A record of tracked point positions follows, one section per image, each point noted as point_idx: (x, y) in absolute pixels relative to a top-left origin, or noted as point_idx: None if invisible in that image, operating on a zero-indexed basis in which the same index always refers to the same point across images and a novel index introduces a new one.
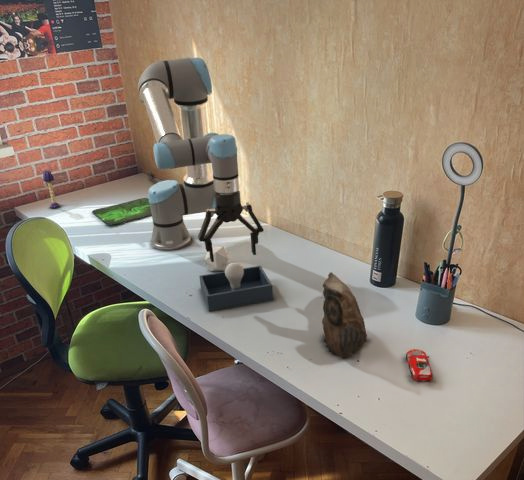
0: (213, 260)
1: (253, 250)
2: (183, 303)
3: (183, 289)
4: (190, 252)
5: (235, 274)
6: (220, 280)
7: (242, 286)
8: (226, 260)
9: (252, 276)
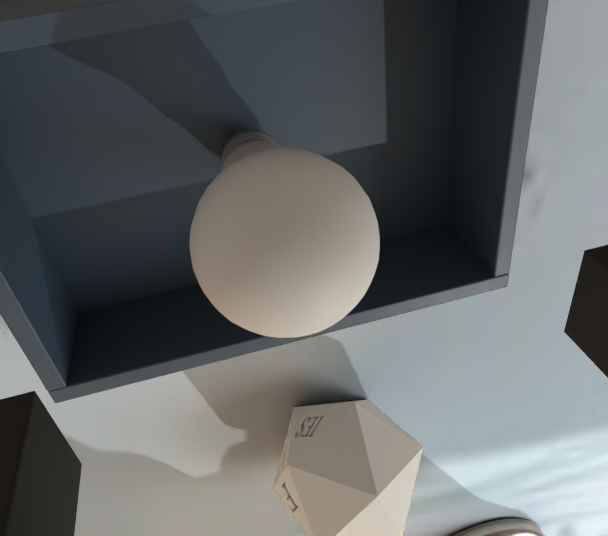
0: (600, 260)
1: (20, 455)
2: (591, 84)
3: (538, 244)
4: (423, 516)
5: (283, 169)
6: None
7: None
8: (299, 453)
9: (127, 322)
